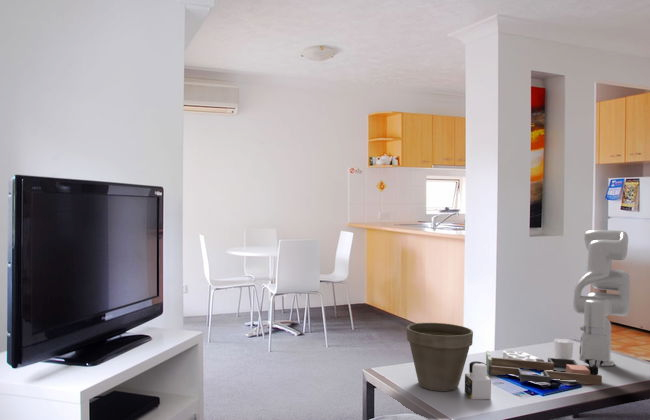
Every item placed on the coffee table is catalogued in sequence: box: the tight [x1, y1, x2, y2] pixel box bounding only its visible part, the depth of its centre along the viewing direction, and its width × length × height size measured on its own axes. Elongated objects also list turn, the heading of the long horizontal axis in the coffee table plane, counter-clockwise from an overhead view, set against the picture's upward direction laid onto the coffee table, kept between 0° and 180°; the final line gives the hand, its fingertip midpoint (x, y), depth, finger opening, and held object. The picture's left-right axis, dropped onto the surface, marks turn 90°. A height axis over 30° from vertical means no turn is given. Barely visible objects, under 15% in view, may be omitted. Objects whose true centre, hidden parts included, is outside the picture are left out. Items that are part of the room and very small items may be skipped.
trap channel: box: [485, 350, 603, 386], centre depth 211 cm, size 30×42×6 cm
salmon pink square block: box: [566, 364, 590, 374], centre depth 208 cm, size 7×7×4 cm
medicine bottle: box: [464, 360, 492, 401], centre depth 184 cm, size 7×7×12 cm
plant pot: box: [406, 322, 474, 392], centre depth 195 cm, size 25×25×22 cm
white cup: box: [553, 338, 574, 360], centre depth 229 cm, size 8×8×10 cm
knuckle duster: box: [502, 350, 546, 362], centre depth 229 cm, size 3×18×15 cm
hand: (593, 376), depth 206 cm, fingers closed
